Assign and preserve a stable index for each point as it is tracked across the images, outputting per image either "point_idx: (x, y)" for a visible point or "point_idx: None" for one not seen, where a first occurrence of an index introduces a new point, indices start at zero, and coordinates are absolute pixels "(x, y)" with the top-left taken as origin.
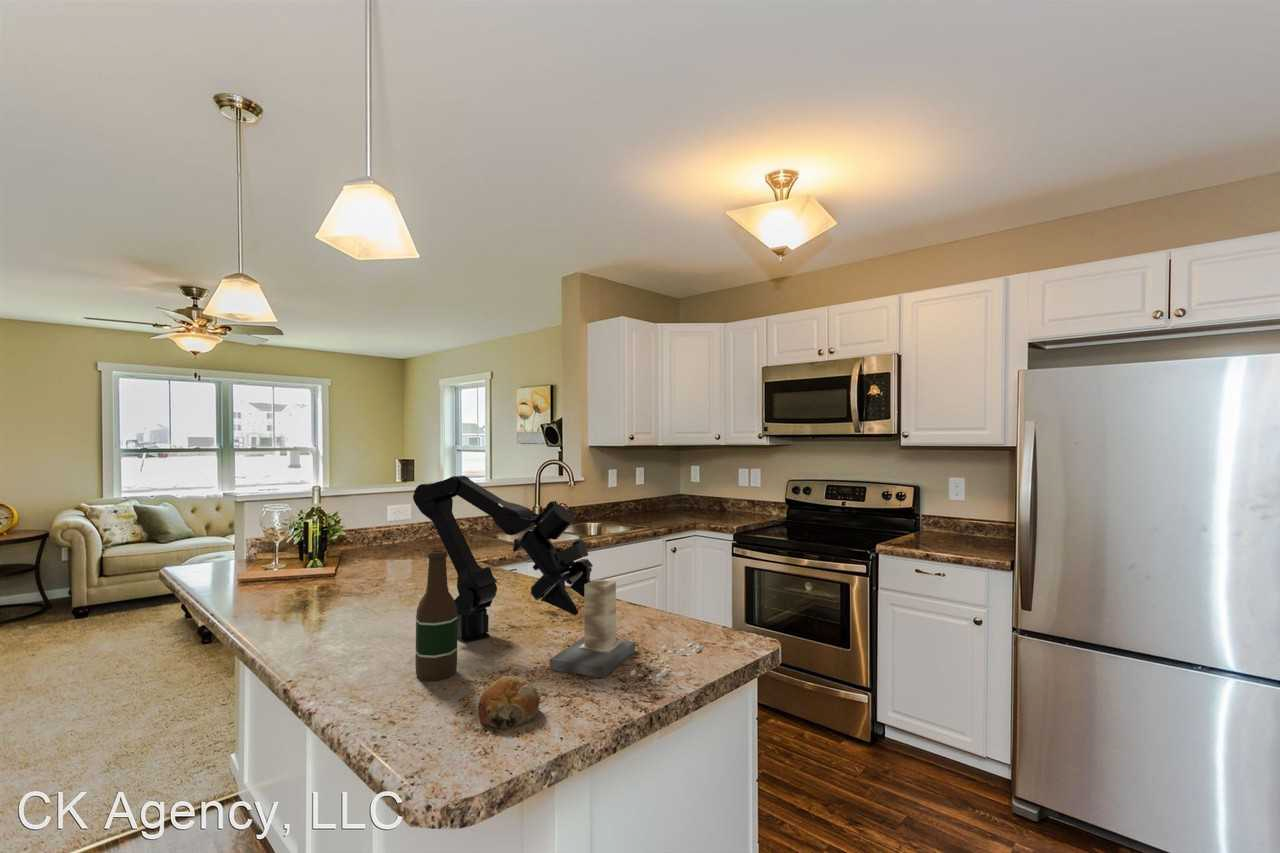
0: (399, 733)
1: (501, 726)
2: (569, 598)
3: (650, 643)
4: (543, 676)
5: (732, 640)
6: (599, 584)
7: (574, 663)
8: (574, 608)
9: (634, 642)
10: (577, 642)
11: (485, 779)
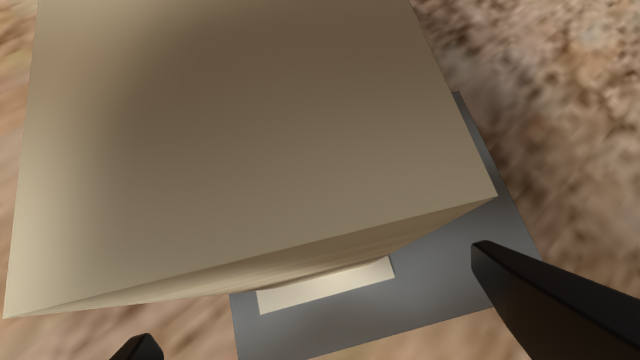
0: None
1: None
2: (634, 324)
3: None
4: (584, 259)
5: (25, 22)
6: (319, 4)
7: (504, 185)
8: (525, 258)
9: None
10: (337, 340)
11: None
